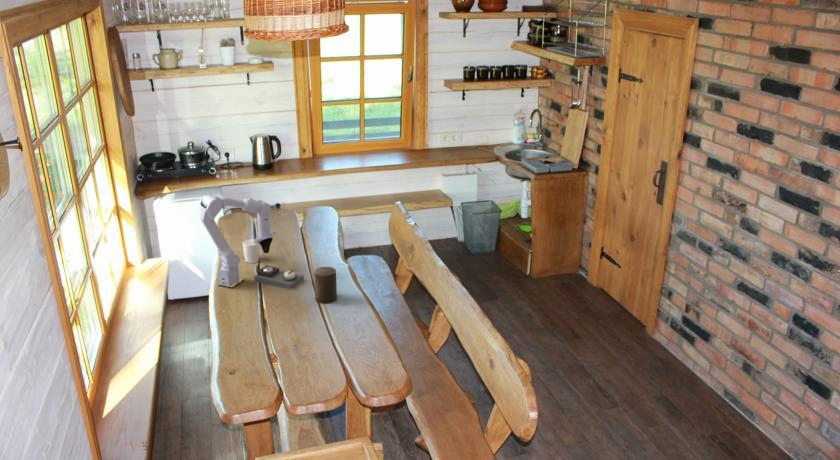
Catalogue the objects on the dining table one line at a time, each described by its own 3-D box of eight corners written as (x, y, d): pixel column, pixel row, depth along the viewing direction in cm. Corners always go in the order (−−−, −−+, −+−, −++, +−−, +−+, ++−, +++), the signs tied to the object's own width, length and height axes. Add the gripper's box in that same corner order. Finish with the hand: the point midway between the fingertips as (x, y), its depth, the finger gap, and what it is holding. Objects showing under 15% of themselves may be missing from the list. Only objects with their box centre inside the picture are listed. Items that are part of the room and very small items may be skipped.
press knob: (269, 275, 332) (269, 271, 331) (261, 273, 333) (261, 269, 332) (274, 271, 335) (274, 268, 335) (267, 270, 337) (266, 266, 336)
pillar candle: (333, 304, 312) (332, 273, 307) (312, 302, 314) (310, 271, 308) (339, 295, 321) (339, 264, 315) (319, 292, 323) (318, 262, 317)
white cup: (262, 258, 357) (260, 239, 353) (257, 264, 349) (255, 245, 346) (246, 257, 357) (245, 238, 354) (241, 263, 350) (240, 245, 346)
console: (290, 289, 325) (290, 280, 323) (254, 281, 332) (254, 272, 330) (303, 280, 334) (303, 271, 332) (268, 272, 342) (267, 263, 340)
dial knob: (291, 280, 327) (291, 275, 326) (282, 278, 329) (281, 273, 328) (297, 275, 331) (297, 271, 330) (288, 273, 333) (288, 269, 332)
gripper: (262, 232, 325) (264, 259, 330) (280, 222, 337) (282, 248, 342) (249, 230, 327) (251, 257, 332) (268, 220, 340) (269, 246, 345)
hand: (266, 252), depth 337 cm, fingers closed
